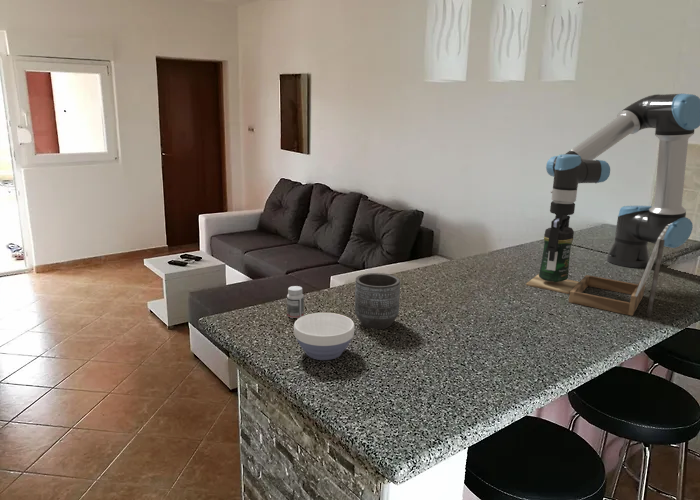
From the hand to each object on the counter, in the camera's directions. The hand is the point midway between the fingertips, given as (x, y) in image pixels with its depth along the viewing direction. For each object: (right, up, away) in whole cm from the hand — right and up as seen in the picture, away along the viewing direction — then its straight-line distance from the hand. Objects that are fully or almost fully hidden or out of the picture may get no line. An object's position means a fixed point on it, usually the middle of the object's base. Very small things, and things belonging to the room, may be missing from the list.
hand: (555, 266), depth 177 cm
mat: (0, -6, +2) cm, 6 cm away
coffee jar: (0, -5, +1) cm, 5 cm away
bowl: (-77, -19, -52) cm, 95 cm away
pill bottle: (-86, -13, -30) cm, 92 cm away
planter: (-63, -15, -34) cm, 73 cm away
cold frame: (+14, -10, -13) cm, 22 cm away
